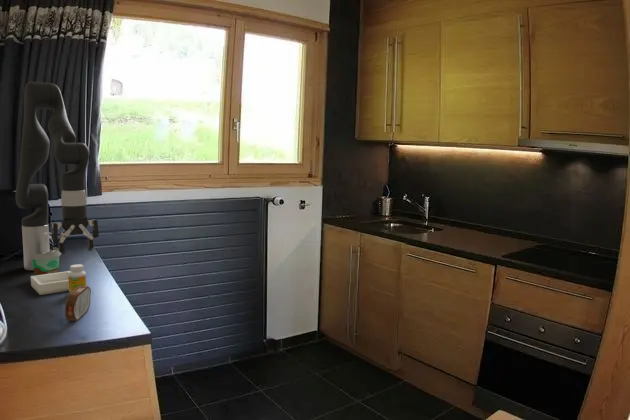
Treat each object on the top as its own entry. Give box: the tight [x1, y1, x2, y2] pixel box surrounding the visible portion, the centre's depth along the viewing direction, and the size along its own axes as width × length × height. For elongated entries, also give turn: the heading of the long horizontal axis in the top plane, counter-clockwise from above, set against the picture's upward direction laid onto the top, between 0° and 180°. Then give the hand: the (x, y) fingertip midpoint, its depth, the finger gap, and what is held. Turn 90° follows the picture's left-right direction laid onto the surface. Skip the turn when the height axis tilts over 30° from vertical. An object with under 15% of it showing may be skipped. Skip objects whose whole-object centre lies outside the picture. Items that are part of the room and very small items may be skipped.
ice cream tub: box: [31, 246, 62, 276], centre depth 200 cm, size 12×6×10 cm, turn 168°
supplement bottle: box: [68, 263, 87, 295], centre depth 180 cm, size 5×5×10 cm
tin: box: [64, 285, 92, 322], centre depth 159 cm, size 15×3×8 cm, turn 5°
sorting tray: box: [30, 270, 71, 296], centre depth 187 cm, size 13×13×4 cm
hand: (76, 251), depth 179 cm, fingers open, 8 cm apart
